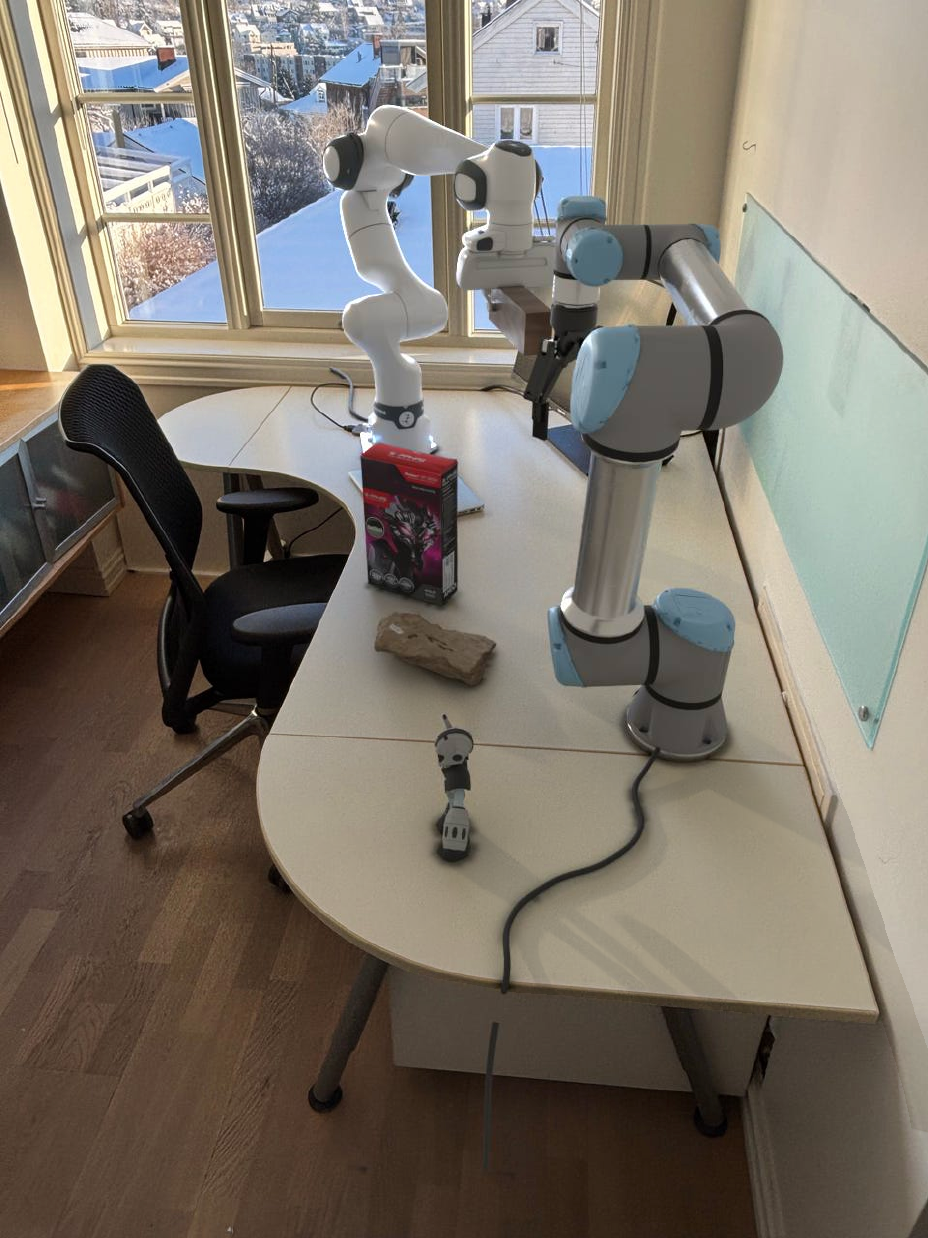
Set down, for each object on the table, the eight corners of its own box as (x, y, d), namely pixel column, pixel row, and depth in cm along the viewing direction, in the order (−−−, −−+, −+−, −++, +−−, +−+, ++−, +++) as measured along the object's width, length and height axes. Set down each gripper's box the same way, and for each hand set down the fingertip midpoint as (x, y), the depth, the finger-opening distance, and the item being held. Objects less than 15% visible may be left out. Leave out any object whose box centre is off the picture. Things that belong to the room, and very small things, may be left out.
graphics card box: (364, 585, 178) (356, 453, 162) (384, 569, 183) (377, 440, 167) (442, 608, 171) (441, 473, 156) (460, 591, 176) (461, 458, 161)
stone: (350, 659, 152) (357, 626, 150) (382, 628, 166) (388, 598, 163) (469, 701, 149) (478, 669, 146) (492, 666, 162) (500, 636, 160)
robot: (476, 896, 116) (478, 779, 105) (437, 897, 116) (436, 781, 105) (467, 786, 132) (469, 675, 121) (434, 787, 132) (432, 676, 121)
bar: (550, 354, 170) (553, 311, 166) (523, 355, 169) (525, 312, 165) (513, 317, 189) (514, 278, 185) (488, 319, 188) (489, 279, 184)
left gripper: (555, 230, 181) (551, 302, 189) (454, 235, 176) (454, 308, 184) (566, 238, 176) (561, 311, 184) (463, 242, 171) (462, 317, 179)
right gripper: (604, 284, 157) (593, 403, 169) (504, 312, 142) (500, 440, 154) (640, 292, 153) (626, 414, 165) (540, 322, 138) (533, 454, 150)
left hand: (506, 310), depth 184 cm, fingers closed on bar, 5 cm apart
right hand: (565, 427), depth 159 cm, fingers open, 13 cm apart
